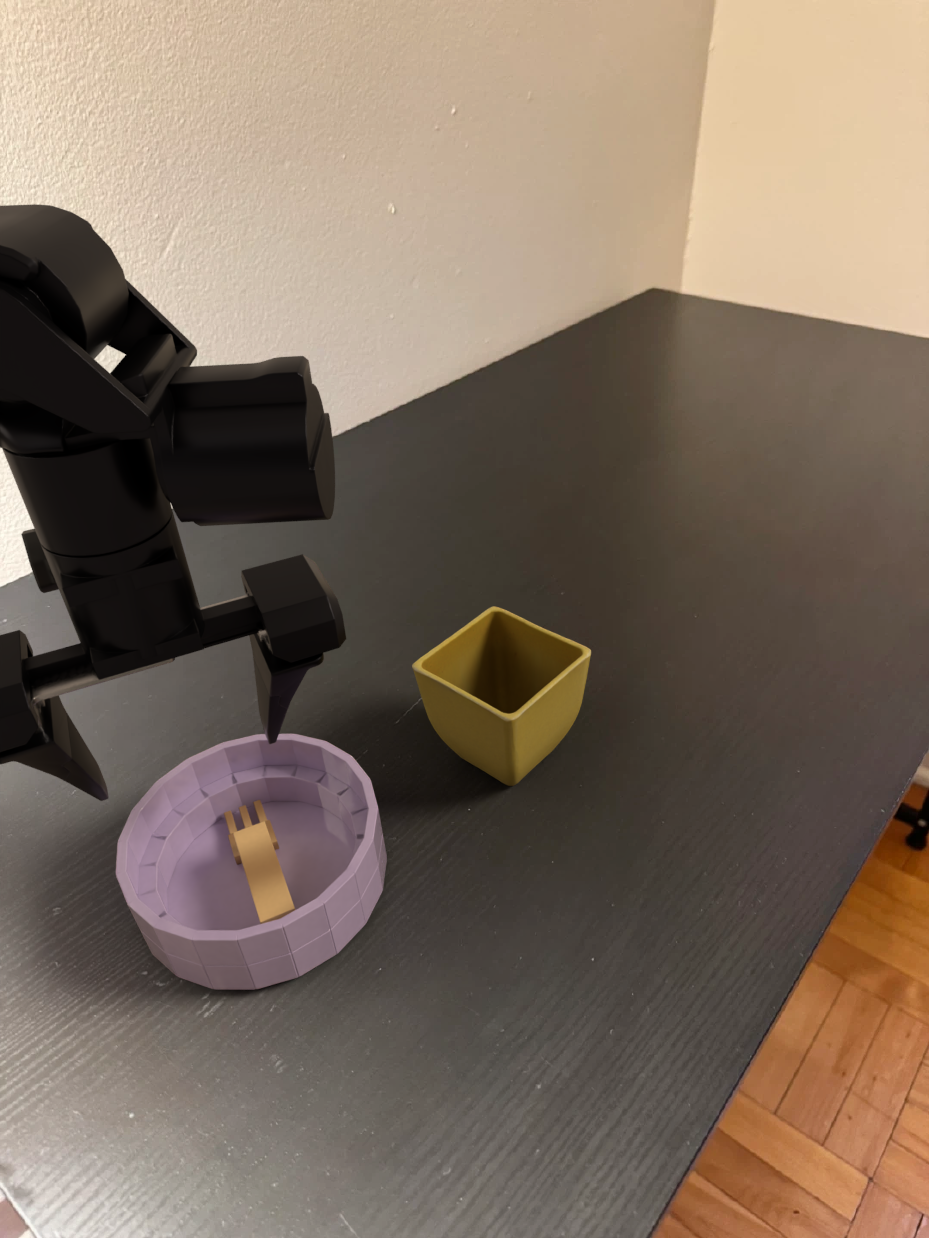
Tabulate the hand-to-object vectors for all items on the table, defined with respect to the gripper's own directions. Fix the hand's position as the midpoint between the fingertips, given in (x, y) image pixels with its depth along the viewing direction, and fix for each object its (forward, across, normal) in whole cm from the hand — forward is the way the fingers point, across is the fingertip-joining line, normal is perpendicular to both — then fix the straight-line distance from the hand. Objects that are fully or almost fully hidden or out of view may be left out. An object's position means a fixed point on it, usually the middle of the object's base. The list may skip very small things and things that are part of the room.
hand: (190, 765), depth 47 cm
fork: (+10, -2, +1) cm, 10 cm away
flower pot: (+11, -20, -2) cm, 23 cm away
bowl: (+11, -2, +1) cm, 11 cm away
